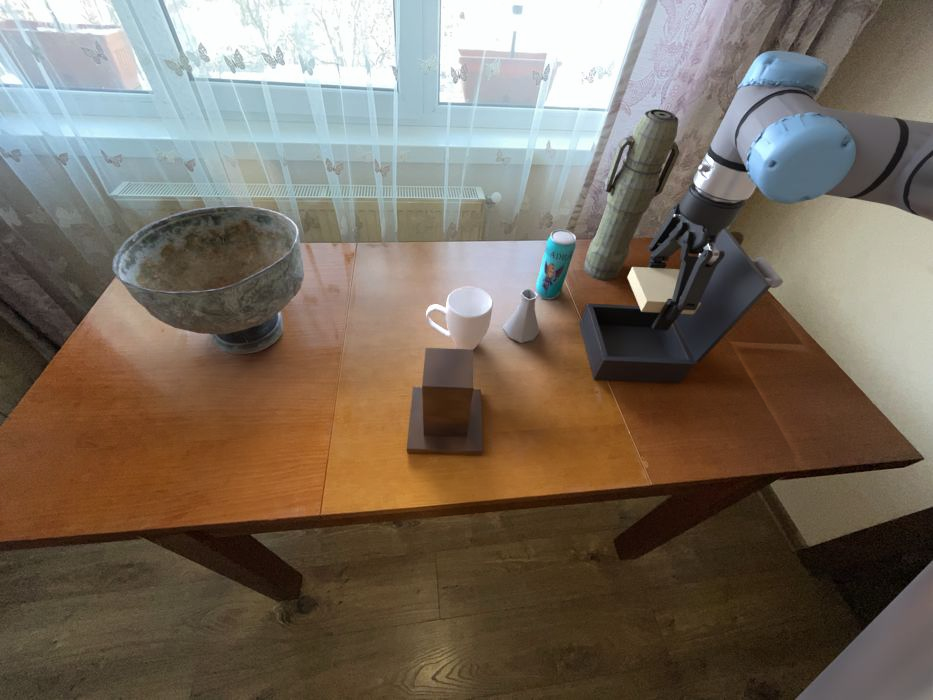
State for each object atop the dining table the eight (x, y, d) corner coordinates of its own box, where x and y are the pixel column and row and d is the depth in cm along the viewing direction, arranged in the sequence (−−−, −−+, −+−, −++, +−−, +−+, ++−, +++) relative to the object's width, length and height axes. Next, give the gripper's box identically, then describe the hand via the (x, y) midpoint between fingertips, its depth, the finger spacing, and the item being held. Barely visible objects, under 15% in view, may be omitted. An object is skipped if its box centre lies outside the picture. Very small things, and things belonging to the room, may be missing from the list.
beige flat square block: (675, 279, 73) (681, 269, 71) (693, 314, 67) (700, 303, 65) (627, 277, 73) (632, 266, 71) (641, 311, 67) (647, 301, 65)
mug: (484, 328, 83) (491, 286, 74) (488, 359, 78) (495, 317, 69) (426, 328, 82) (426, 284, 73) (426, 359, 77) (425, 316, 68)
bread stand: (480, 393, 72) (489, 337, 61) (481, 455, 64) (492, 404, 53) (413, 391, 72) (410, 334, 60) (406, 453, 64) (401, 401, 52)
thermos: (630, 280, 97) (704, 124, 70) (583, 281, 95) (642, 122, 69) (617, 258, 103) (682, 106, 76) (573, 258, 101) (623, 104, 75)
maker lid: (766, 285, 58) (809, 291, 59) (723, 228, 68) (761, 234, 69) (695, 362, 72) (731, 366, 73) (667, 305, 82) (699, 309, 83)
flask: (520, 313, 87) (529, 276, 79) (545, 332, 83) (556, 296, 76) (496, 327, 83) (502, 291, 76) (520, 348, 80) (530, 312, 72)
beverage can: (532, 297, 90) (546, 240, 79) (537, 282, 94) (551, 225, 83) (557, 304, 89) (575, 247, 78) (561, 288, 93) (579, 232, 82)
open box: (593, 380, 76) (603, 360, 71) (579, 323, 86) (587, 303, 81) (680, 383, 77) (696, 364, 72) (656, 327, 87) (668, 307, 82)
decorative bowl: (150, 388, 68) (78, 297, 53) (188, 291, 84) (141, 201, 70) (314, 373, 73) (290, 288, 59) (320, 285, 90) (302, 201, 75)
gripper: (666, 154, 62) (616, 270, 79) (725, 233, 48) (648, 354, 65) (713, 157, 63) (653, 272, 80) (785, 237, 48) (693, 356, 65)
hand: (651, 309), depth 72 cm, fingers closed on beige flat square block, 9 cm apart
